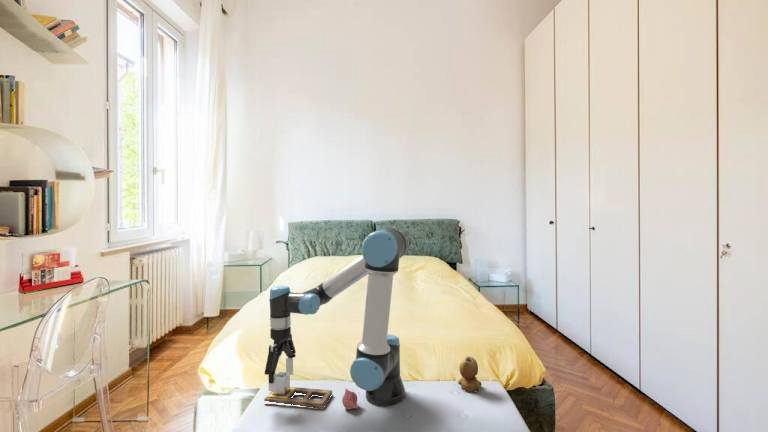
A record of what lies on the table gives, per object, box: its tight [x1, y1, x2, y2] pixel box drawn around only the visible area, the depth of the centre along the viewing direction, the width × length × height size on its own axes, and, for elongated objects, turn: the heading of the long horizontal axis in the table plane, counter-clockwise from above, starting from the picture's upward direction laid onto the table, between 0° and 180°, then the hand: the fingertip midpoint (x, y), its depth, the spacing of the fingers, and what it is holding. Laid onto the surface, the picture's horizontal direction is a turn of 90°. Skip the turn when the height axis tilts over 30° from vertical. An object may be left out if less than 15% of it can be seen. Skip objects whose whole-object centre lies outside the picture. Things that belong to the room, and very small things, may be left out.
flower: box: [341, 388, 359, 410], centre depth 127 cm, size 8×8×6 cm
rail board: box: [263, 386, 333, 410], centre depth 133 cm, size 23×10×2 cm, turn 79°
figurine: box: [457, 356, 482, 393], centre depth 138 cm, size 10×8×15 cm
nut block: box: [274, 371, 291, 396], centre depth 135 cm, size 4×4×9 cm
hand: (281, 382), depth 135 cm, fingers open, 13 cm apart
